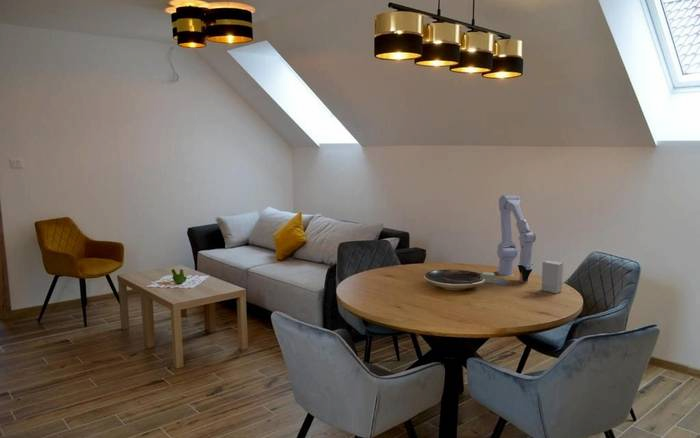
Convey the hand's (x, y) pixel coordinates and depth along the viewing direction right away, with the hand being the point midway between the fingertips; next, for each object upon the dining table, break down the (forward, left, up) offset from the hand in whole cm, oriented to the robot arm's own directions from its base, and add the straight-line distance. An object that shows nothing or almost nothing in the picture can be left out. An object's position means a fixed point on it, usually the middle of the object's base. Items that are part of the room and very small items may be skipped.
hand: (523, 280), depth 279 cm
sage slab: (+3, -19, +1) cm, 19 cm away
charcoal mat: (+3, -19, -1) cm, 19 cm away
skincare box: (+14, +10, -2) cm, 17 cm away
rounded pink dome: (0, 0, -1) cm, 1 cm away
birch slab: (+3, -19, -1) cm, 19 cm away
